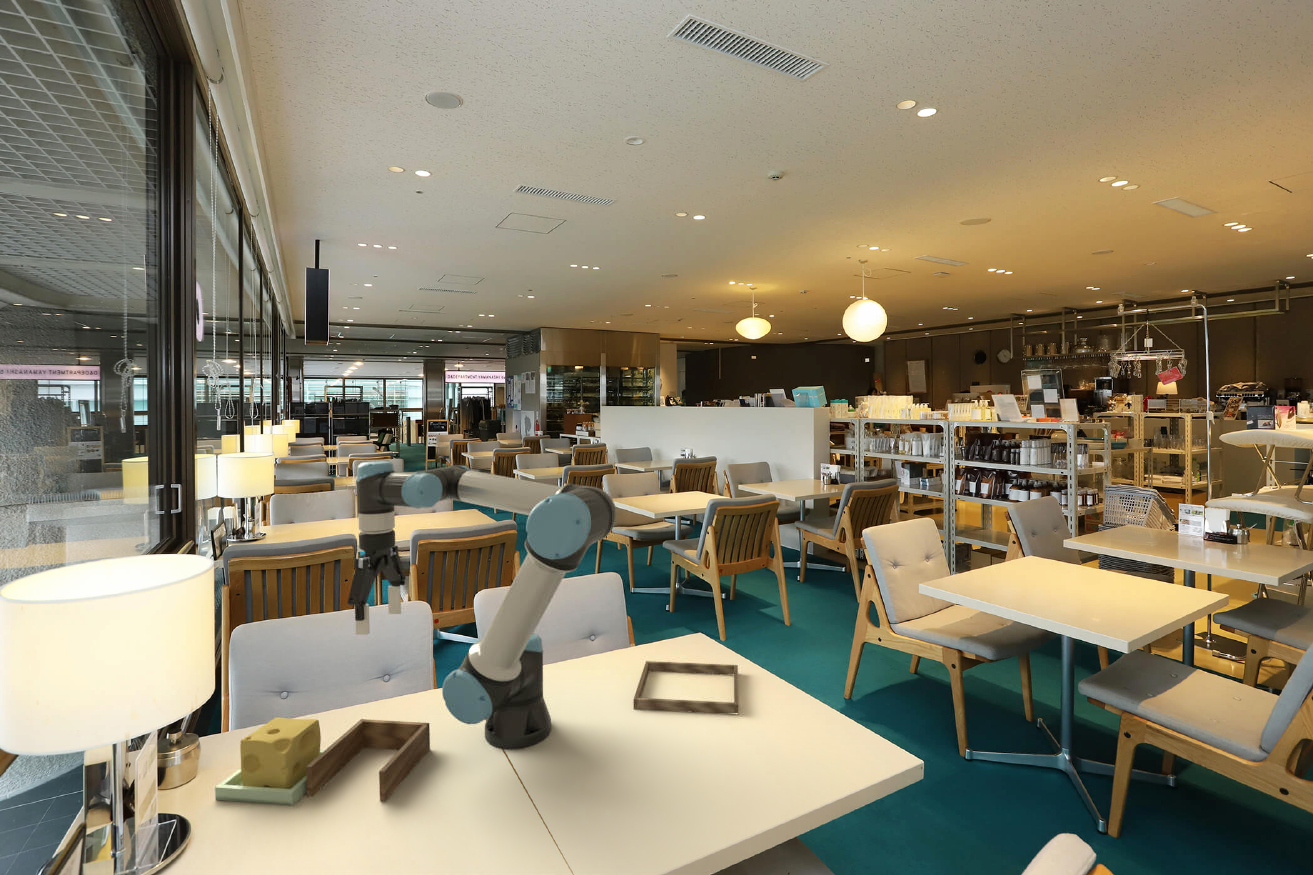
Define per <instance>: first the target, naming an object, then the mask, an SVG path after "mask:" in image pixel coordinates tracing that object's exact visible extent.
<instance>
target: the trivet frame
mask: <svg viewBox="0 0 1313 875" xmlns="http://www.w3.org/2000/svg"><path fill="white" fill-rule="evenodd" d="M650 672H657V673H658V672H659V673H660V672H661V673H679V674H698V673H706V674H705V675H720V674H734V675H733V692H734V693H733V695H734V697H733V698H734V699H733V700H734V702H729V701H728V702H727V701H710V700H709V701H708V700H705V701H704V700H690V699H689V700H688V699H687V700H686V699H673V698H671V699H670V698H650V697H648V698H647V697H642V696H643V693H644V689H645V686H646V683H647V679H648V676H649V673H650ZM708 673H709V674H708ZM712 673H713V674H712ZM632 700H633V703H632V704H633V710H641V711H643V710H644V711H646V710H647V711H660V712H661V711H664V712H678V711H687V712H686V713H689V712H688V711H691V712H690V713H697V712H702V714H717V713H738V714H739V708H740V707H739V667H738V664H723V663H722V664H718V663H699V662H698V663H695V662H694V663H693V662H677V661H675V662H672V661H656V660H655V661H650V660H645V664H644V667H643V669H642V672H641V676H640V678H639V682H638V684H637V688H636V691H635V694H634V696H633V699H632ZM703 712H704V713H703Z"/></svg>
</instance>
